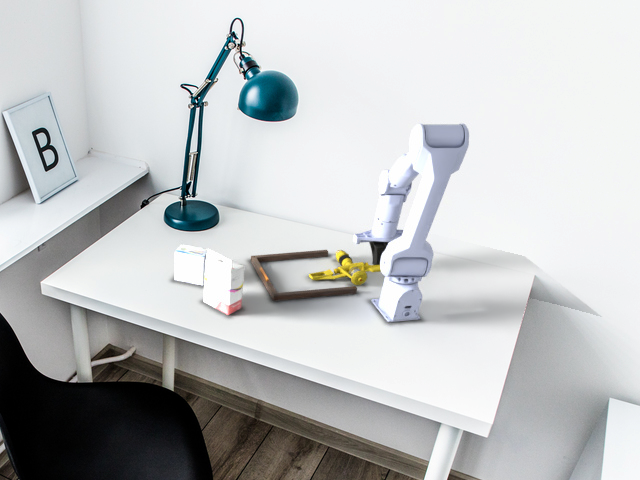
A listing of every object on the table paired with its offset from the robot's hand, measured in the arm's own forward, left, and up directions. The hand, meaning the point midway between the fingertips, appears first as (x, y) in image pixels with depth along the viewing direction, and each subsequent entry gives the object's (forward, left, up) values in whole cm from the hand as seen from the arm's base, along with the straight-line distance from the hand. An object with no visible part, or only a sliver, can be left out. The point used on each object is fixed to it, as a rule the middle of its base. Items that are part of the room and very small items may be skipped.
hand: (375, 265), depth 170 cm
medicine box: (+3, +48, -2) cm, 49 cm away
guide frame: (0, +19, -1) cm, 19 cm away
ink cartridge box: (-10, +43, -2) cm, 45 cm away
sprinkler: (0, +9, -2) cm, 9 cm away
